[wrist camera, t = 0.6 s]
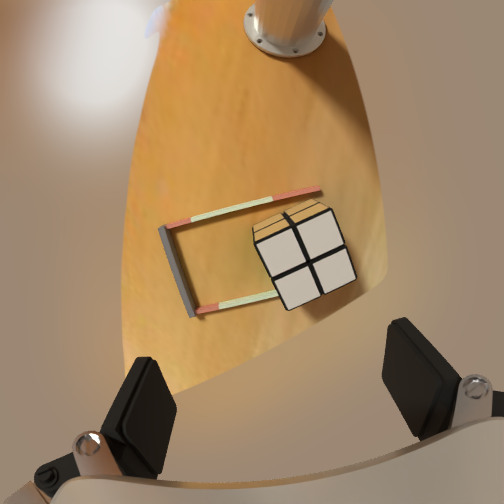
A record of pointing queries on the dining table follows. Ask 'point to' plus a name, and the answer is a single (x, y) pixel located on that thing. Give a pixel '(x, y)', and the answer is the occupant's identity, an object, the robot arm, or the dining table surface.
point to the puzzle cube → (304, 253)
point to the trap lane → (177, 267)
